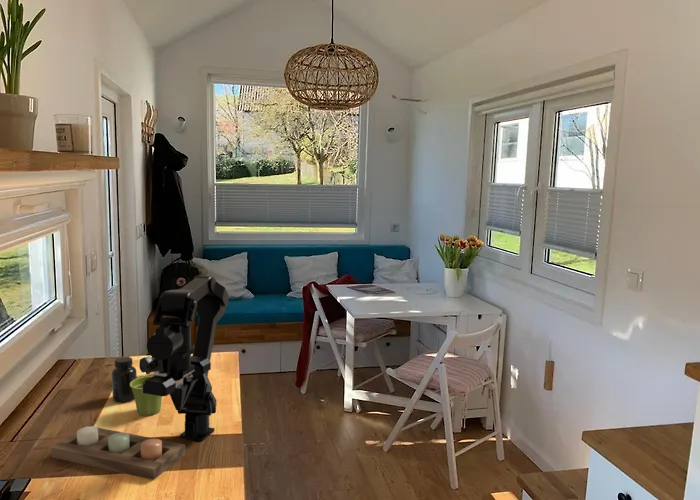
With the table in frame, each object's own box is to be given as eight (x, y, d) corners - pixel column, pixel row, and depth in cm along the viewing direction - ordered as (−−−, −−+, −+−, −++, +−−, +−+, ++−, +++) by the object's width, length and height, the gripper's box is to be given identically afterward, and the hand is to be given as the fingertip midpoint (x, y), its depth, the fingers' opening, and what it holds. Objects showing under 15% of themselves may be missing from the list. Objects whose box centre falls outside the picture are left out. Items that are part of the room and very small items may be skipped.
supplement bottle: (129, 392, 171) (128, 354, 169) (141, 398, 166) (141, 359, 165) (107, 398, 165) (106, 359, 164) (119, 405, 161) (118, 365, 159)
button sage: (117, 448, 136) (117, 431, 135) (133, 451, 135) (133, 434, 134) (104, 457, 132) (103, 439, 131) (120, 460, 130) (120, 443, 130)
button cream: (87, 442, 139) (86, 425, 138) (102, 445, 137) (102, 428, 137) (73, 450, 134) (72, 433, 134) (88, 454, 133) (88, 436, 132)
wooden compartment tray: (89, 435, 143) (89, 425, 143) (185, 454, 135) (185, 444, 134) (51, 457, 132) (51, 447, 131) (153, 480, 123) (153, 469, 123)
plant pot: (155, 420, 152) (154, 390, 151) (123, 416, 154) (122, 386, 153) (172, 406, 161) (172, 377, 160) (142, 403, 163) (142, 374, 162)
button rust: (149, 454, 133) (149, 437, 133) (166, 458, 132) (165, 440, 131) (136, 464, 129) (136, 446, 128) (153, 468, 128) (153, 449, 127)
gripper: (172, 330, 140) (173, 390, 142) (120, 353, 123) (122, 421, 125) (211, 336, 137) (212, 397, 139) (164, 359, 119) (165, 429, 121)
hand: (178, 410), depth 131 cm, fingers closed
